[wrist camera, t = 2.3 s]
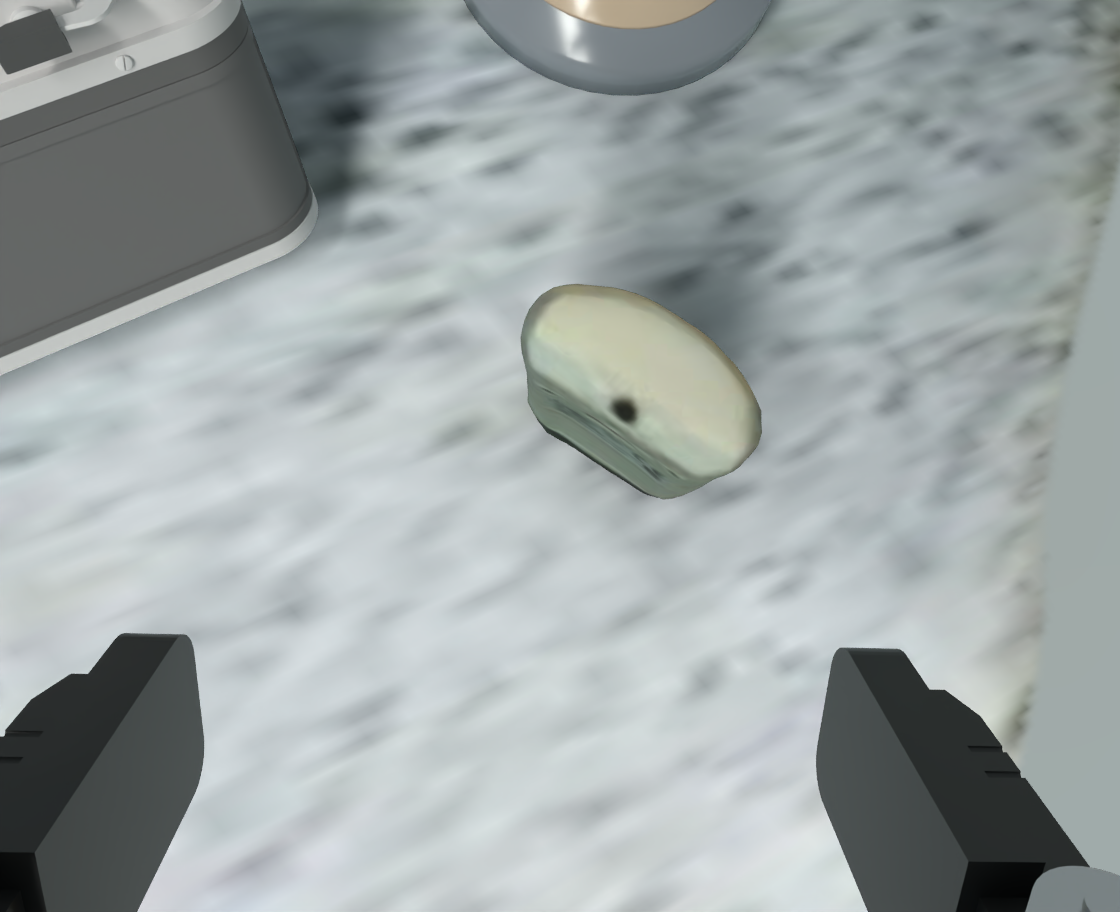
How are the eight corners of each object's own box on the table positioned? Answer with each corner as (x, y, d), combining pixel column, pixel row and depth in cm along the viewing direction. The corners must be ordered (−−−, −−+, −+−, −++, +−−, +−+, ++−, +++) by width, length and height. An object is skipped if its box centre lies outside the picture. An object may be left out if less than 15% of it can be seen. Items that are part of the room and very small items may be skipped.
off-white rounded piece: (505, 516, 27) (522, 471, 19) (506, 343, 28) (523, 233, 20) (698, 518, 27) (792, 474, 20) (693, 349, 28) (780, 243, 21)
